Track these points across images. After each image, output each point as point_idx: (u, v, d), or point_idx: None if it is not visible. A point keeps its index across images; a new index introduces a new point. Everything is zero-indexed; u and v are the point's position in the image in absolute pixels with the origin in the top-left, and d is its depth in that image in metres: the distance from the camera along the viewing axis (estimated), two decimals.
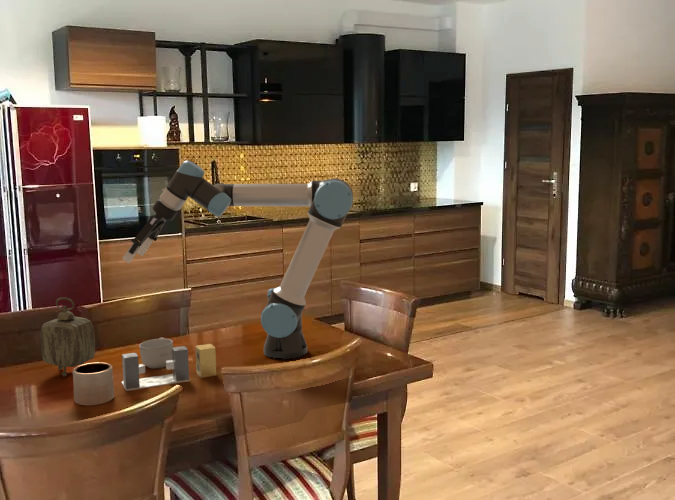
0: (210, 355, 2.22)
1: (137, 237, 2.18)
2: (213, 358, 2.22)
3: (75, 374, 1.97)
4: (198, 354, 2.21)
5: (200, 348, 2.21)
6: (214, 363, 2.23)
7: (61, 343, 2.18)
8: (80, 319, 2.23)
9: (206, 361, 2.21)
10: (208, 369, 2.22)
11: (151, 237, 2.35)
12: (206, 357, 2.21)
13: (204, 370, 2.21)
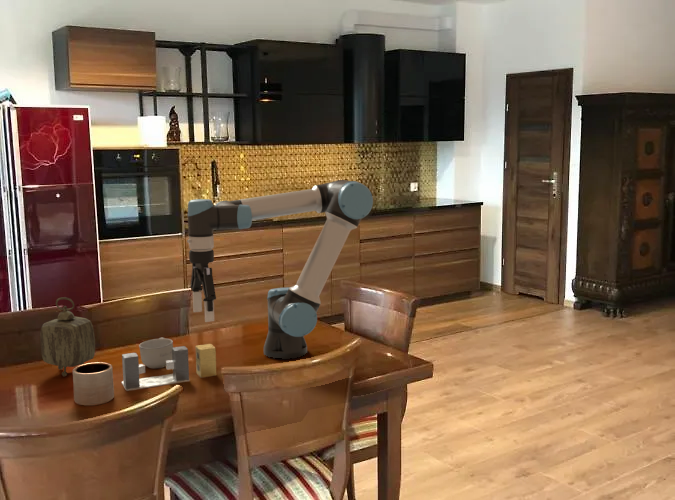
0: (210, 355, 2.22)
1: (209, 293, 2.12)
2: (213, 358, 2.22)
3: (75, 374, 1.97)
4: (198, 354, 2.21)
5: (200, 348, 2.21)
6: (214, 363, 2.23)
7: (61, 343, 2.18)
8: (80, 319, 2.23)
9: (206, 361, 2.21)
10: (208, 369, 2.22)
11: (197, 290, 2.27)
12: (206, 357, 2.21)
13: (204, 370, 2.21)
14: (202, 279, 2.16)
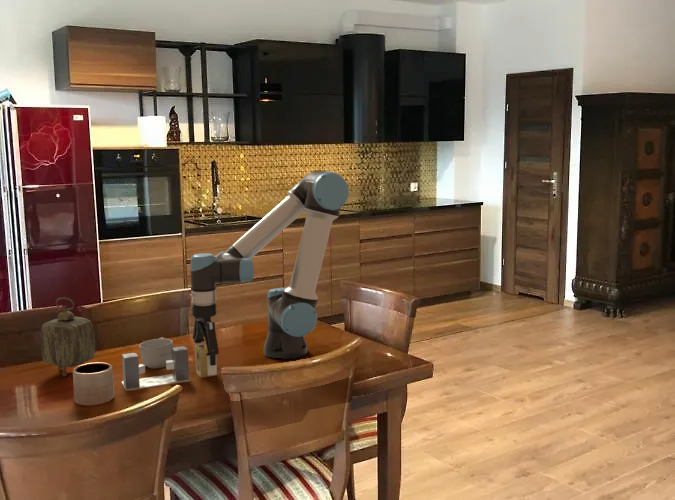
0: None
1: (212, 348, 2.14)
2: None
3: (75, 374, 1.97)
4: (198, 354, 2.21)
5: (200, 348, 2.21)
6: None
7: (61, 343, 2.18)
8: (80, 319, 2.23)
9: (206, 361, 2.21)
10: None
11: (199, 341, 2.29)
12: (206, 357, 2.21)
13: (204, 370, 2.21)
14: (205, 333, 2.18)
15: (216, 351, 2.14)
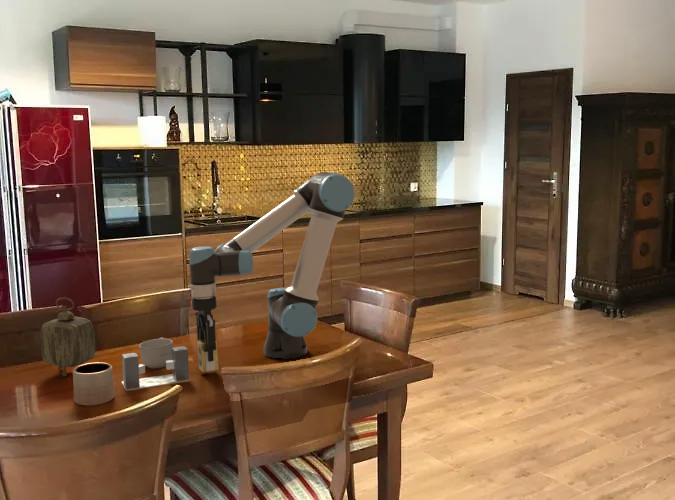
0: None
1: (210, 345, 2.17)
2: (215, 352, 2.22)
3: (75, 374, 1.97)
4: (200, 349, 2.21)
5: (202, 343, 2.21)
6: (216, 357, 2.22)
7: (61, 343, 2.18)
8: (80, 319, 2.23)
9: None
10: None
11: None
12: None
13: None
14: (204, 328, 2.19)
15: (213, 347, 2.18)
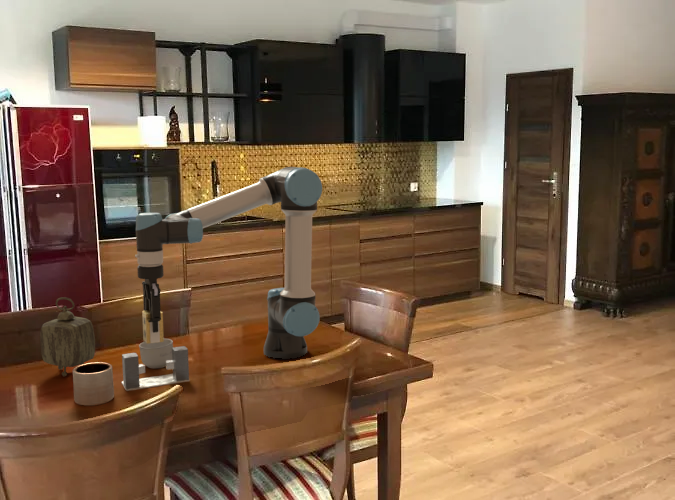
0: None
1: (154, 315, 2.08)
2: (160, 323, 2.13)
3: (75, 374, 1.97)
4: (144, 319, 2.12)
5: (146, 313, 2.12)
6: (161, 329, 2.13)
7: (61, 343, 2.18)
8: (80, 319, 2.23)
9: None
10: None
11: None
12: None
13: None
14: (149, 297, 2.10)
15: (158, 317, 2.09)
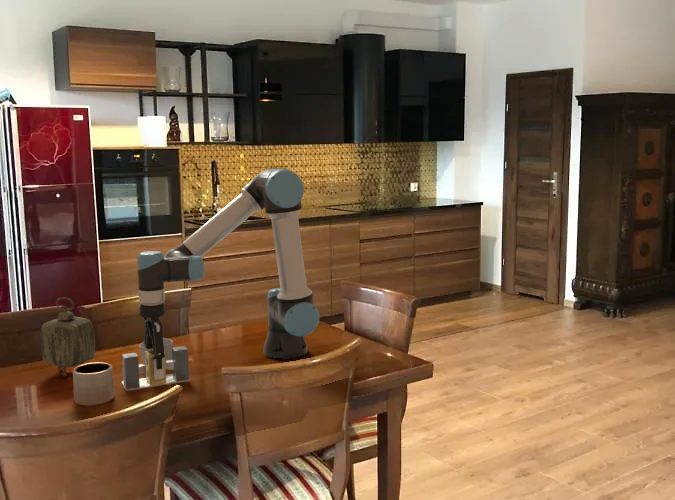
0: None
1: (157, 352, 2.08)
2: (163, 364, 2.15)
3: (75, 374, 1.97)
4: (147, 360, 2.14)
5: (149, 354, 2.14)
6: (164, 369, 2.15)
7: (61, 343, 2.18)
8: (80, 319, 2.23)
9: None
10: None
11: (151, 346, 2.21)
12: None
13: (153, 376, 2.14)
14: (152, 335, 2.11)
15: (162, 355, 2.09)
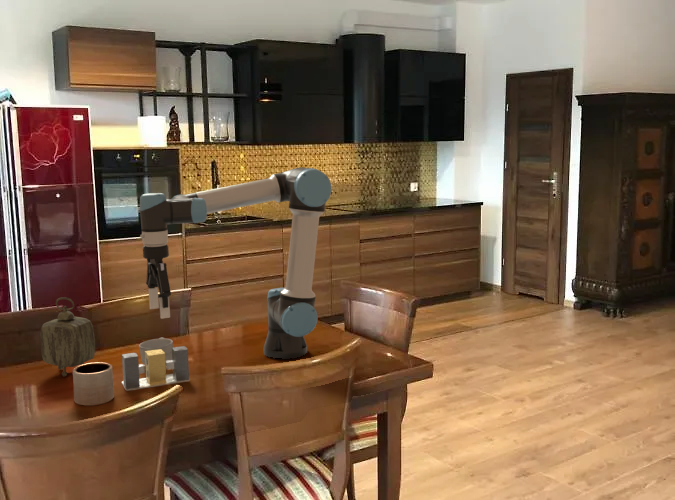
0: (159, 361, 2.14)
1: (163, 289, 2.06)
2: (163, 364, 2.15)
3: (75, 374, 1.97)
4: (147, 360, 2.14)
5: (149, 354, 2.14)
6: (164, 369, 2.15)
7: (61, 343, 2.18)
8: (80, 319, 2.23)
9: (156, 367, 2.14)
10: (157, 375, 2.15)
11: (153, 286, 2.22)
12: (155, 363, 2.14)
13: (153, 376, 2.14)
14: (156, 275, 2.11)
15: (168, 292, 2.07)
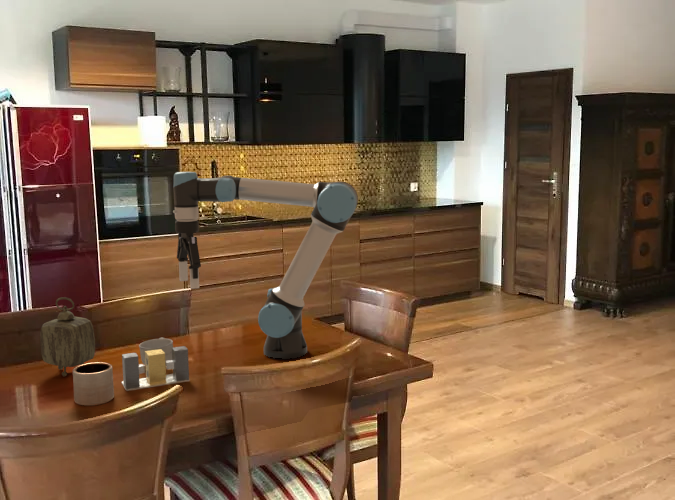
0: (159, 361, 2.14)
1: (194, 261, 2.21)
2: (163, 364, 2.15)
3: (75, 374, 1.97)
4: (147, 360, 2.14)
5: (149, 354, 2.14)
6: (164, 369, 2.15)
7: (61, 343, 2.18)
8: (80, 319, 2.23)
9: (156, 367, 2.14)
10: (157, 375, 2.15)
11: (183, 260, 2.37)
12: (155, 363, 2.14)
13: (153, 376, 2.14)
14: (187, 248, 2.25)
15: (198, 264, 2.21)
